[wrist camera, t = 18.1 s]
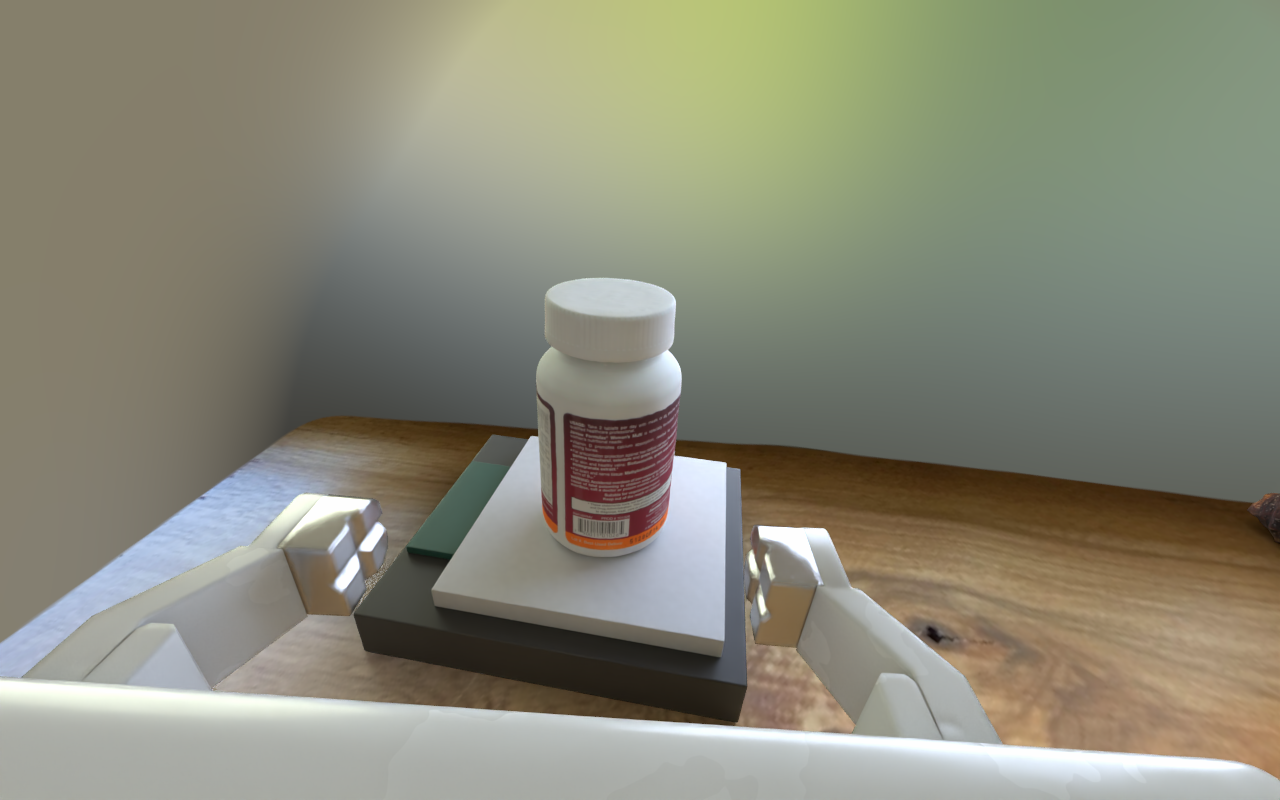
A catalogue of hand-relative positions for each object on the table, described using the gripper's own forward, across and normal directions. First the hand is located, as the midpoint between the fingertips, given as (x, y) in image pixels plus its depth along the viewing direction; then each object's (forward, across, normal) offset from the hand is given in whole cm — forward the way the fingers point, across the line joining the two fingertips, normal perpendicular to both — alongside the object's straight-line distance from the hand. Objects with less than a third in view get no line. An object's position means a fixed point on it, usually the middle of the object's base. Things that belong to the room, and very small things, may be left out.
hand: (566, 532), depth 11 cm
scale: (+11, +1, +13) cm, 17 cm away
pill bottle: (+11, 0, +10) cm, 15 cm away
